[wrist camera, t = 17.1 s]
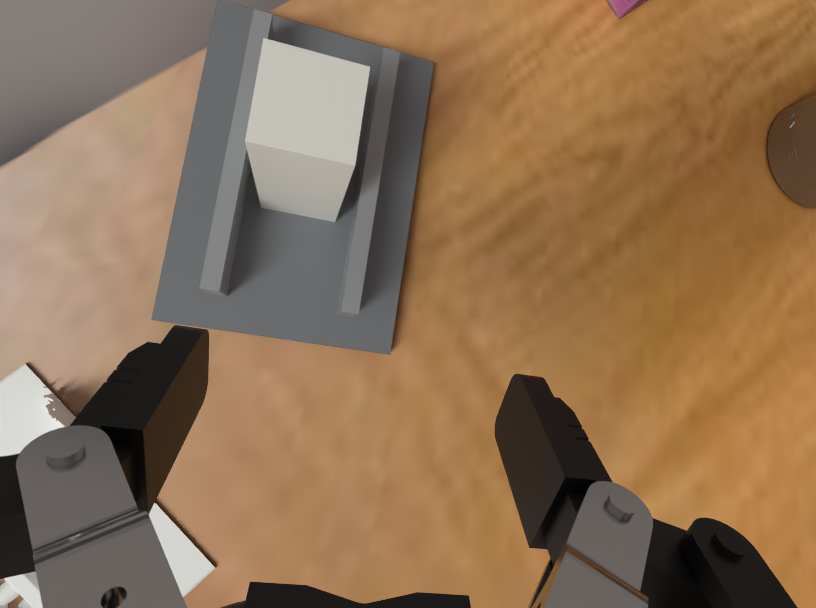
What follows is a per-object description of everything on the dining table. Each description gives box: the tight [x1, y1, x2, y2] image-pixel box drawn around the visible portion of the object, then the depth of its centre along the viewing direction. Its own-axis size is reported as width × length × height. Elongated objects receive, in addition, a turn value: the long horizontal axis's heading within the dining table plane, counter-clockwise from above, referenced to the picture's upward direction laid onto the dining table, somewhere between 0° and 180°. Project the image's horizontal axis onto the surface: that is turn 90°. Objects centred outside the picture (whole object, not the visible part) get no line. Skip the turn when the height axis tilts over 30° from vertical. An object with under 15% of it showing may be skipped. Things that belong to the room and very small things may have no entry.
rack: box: [152, 0, 434, 355], centre depth 29 cm, size 14×20×4 cm
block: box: [245, 38, 370, 222], centre depth 25 cm, size 4×4×10 cm
